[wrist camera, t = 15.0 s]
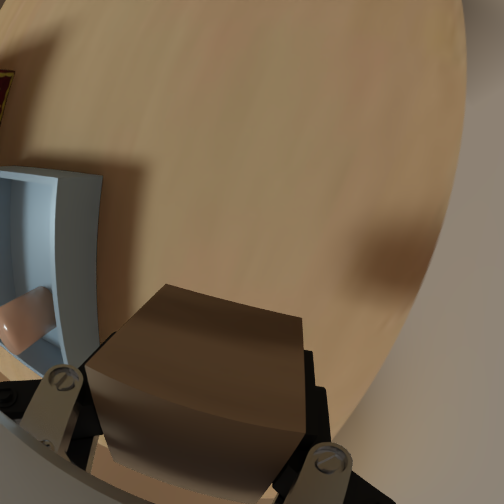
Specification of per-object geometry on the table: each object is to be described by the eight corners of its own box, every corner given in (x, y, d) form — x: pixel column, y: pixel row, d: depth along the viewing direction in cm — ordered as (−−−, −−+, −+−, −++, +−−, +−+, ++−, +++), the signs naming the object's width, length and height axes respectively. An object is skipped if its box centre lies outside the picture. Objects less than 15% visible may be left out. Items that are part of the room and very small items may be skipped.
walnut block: (165, 283, 10) (84, 364, 5) (301, 317, 9) (306, 433, 5) (161, 379, 11) (113, 461, 7) (268, 408, 11) (254, 504, 6)
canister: (32, 280, 24) (-11, 302, 17) (58, 294, 24) (13, 321, 17) (37, 317, 25) (-1, 342, 19) (63, 332, 25) (24, 363, 18)
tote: (14, 165, 22) (-22, 168, 16) (102, 175, 21) (57, 178, 15) (22, 324, 27) (-4, 341, 22) (103, 371, 26) (77, 399, 21)
